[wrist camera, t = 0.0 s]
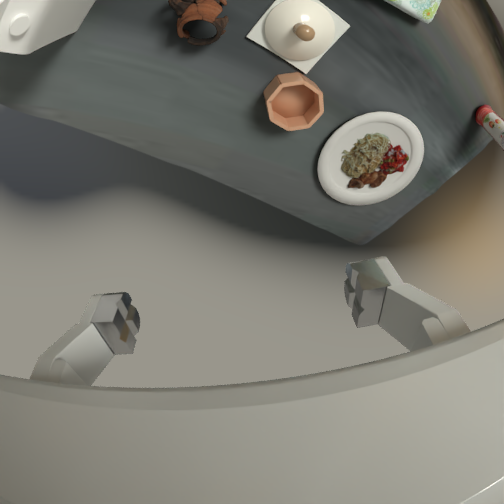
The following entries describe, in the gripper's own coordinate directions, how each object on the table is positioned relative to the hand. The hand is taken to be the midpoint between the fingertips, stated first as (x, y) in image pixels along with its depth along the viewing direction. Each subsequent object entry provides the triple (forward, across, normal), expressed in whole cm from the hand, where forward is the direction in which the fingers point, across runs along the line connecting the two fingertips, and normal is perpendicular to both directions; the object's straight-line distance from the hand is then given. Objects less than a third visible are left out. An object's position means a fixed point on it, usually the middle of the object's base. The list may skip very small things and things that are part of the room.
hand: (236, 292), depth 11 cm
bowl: (+55, -12, -1) cm, 56 cm away
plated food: (+61, -32, +17) cm, 71 cm away
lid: (+49, -14, -15) cm, 53 cm away
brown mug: (+48, +3, -20) cm, 53 cm away
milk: (+44, +26, -32) cm, 60 cm away
